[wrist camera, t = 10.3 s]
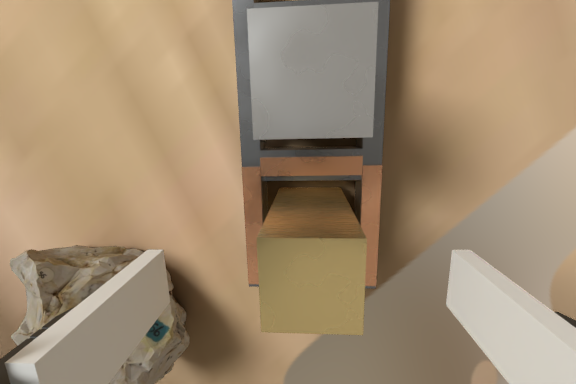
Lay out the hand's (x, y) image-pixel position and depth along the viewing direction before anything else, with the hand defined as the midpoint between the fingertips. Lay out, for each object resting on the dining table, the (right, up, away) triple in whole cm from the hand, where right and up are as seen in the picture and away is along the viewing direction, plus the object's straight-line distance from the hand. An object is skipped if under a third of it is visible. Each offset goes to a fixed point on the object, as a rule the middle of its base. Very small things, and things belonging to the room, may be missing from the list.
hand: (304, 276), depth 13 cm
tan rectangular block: (+1, +2, +9) cm, 9 cm away
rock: (-13, -4, +11) cm, 18 cm away
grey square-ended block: (+1, +10, +7) cm, 12 cm away
